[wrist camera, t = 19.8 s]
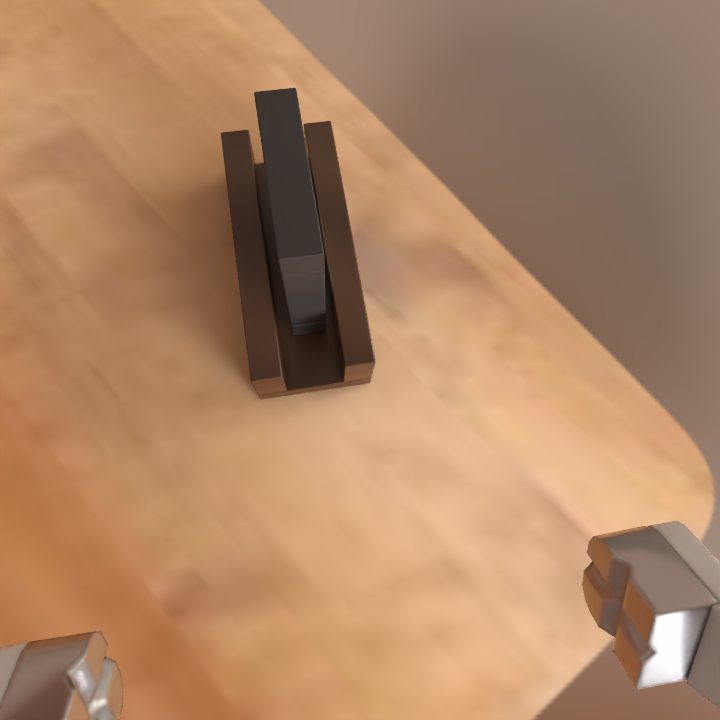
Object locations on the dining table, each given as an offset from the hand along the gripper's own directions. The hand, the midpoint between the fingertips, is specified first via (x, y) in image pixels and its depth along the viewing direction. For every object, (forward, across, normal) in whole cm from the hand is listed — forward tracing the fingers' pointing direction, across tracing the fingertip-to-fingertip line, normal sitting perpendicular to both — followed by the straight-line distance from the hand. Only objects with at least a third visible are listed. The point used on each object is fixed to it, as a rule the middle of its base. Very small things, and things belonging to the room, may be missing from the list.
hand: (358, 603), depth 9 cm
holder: (+25, 0, +3) cm, 25 cm away
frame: (+24, 0, +2) cm, 24 cm away
